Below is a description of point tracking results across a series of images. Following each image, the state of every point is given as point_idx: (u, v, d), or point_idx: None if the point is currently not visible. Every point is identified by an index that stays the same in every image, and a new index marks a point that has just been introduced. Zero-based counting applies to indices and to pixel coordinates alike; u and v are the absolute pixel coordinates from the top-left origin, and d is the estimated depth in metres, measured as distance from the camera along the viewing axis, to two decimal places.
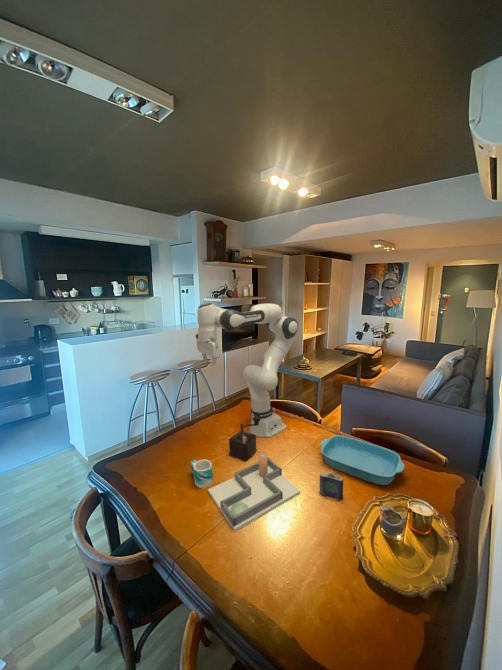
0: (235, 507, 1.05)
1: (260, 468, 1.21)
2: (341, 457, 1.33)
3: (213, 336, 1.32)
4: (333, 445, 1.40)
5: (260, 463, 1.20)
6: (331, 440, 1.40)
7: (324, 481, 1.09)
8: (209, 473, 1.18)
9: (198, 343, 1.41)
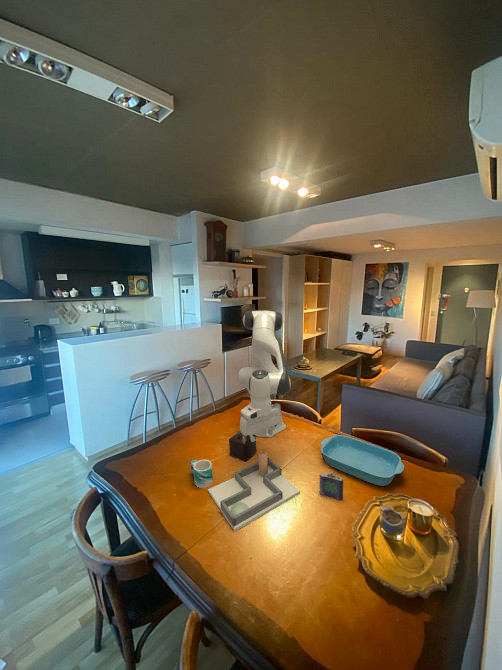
0: (235, 507, 1.05)
1: (260, 468, 1.21)
2: (341, 457, 1.34)
3: None
4: (334, 445, 1.41)
5: (260, 463, 1.20)
6: (332, 440, 1.40)
7: (324, 481, 1.09)
8: (209, 473, 1.18)
9: (248, 425, 1.12)
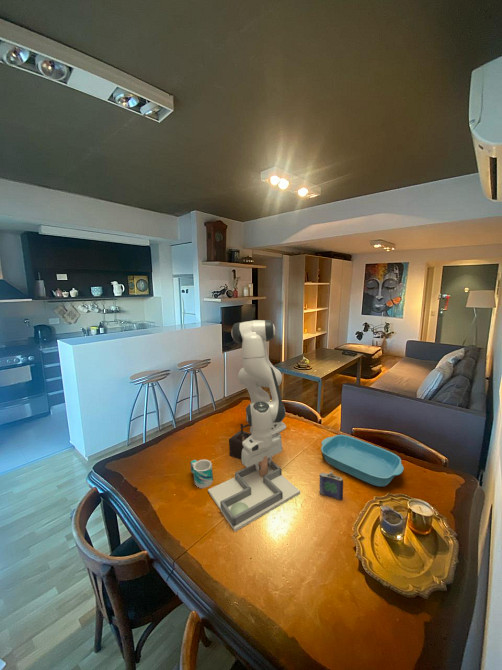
0: (235, 507, 1.05)
1: None
2: (342, 456, 1.34)
3: None
4: (336, 445, 1.41)
5: (260, 463, 1.20)
6: (334, 439, 1.41)
7: (324, 481, 1.09)
8: (209, 473, 1.18)
9: (250, 457, 1.15)
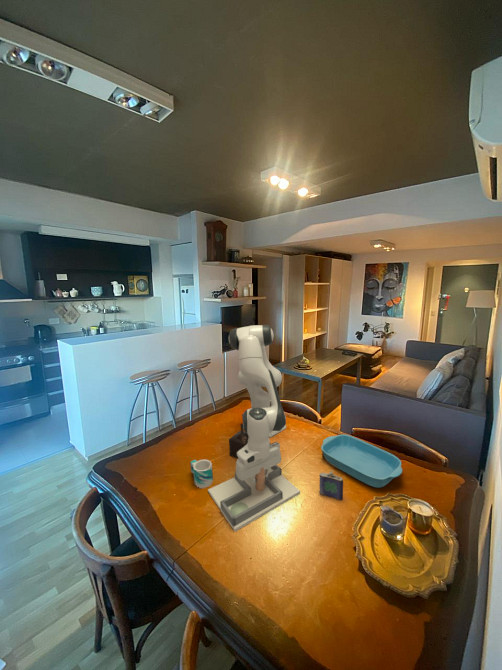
0: (235, 507, 1.05)
1: None
2: (343, 456, 1.34)
3: None
4: (338, 444, 1.42)
5: (256, 475, 1.09)
6: (336, 438, 1.41)
7: (324, 481, 1.09)
8: (209, 473, 1.18)
9: (245, 469, 1.04)
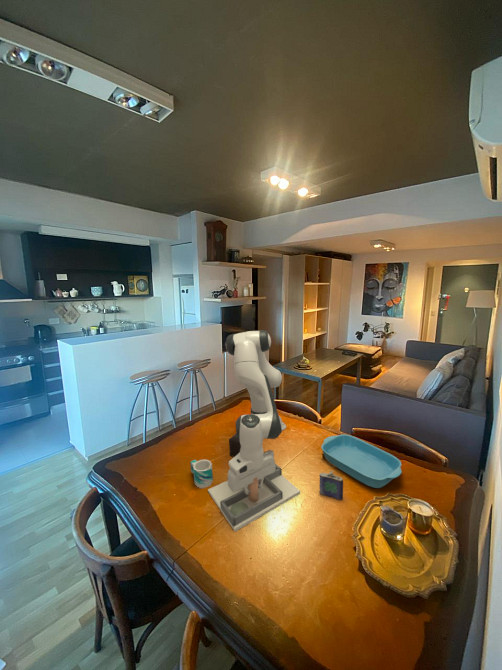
0: (235, 507, 1.05)
1: (250, 491, 1.04)
2: (343, 455, 1.35)
3: None
4: (339, 444, 1.42)
5: (249, 486, 1.04)
6: (337, 438, 1.41)
7: (324, 481, 1.09)
8: (209, 473, 1.18)
9: (237, 479, 0.98)
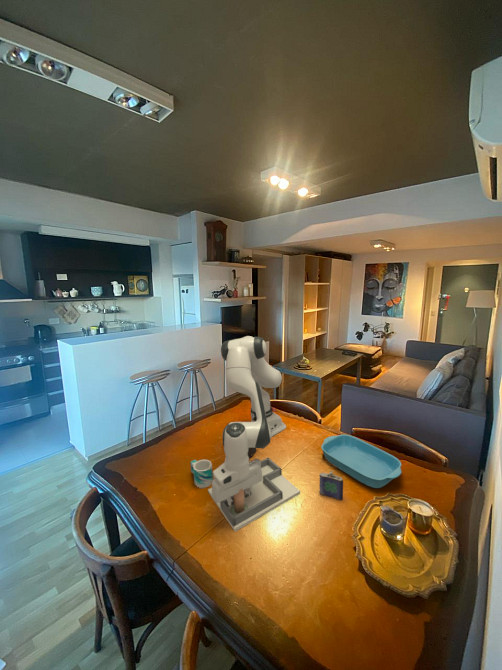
0: None
1: (235, 503, 1.01)
2: (343, 455, 1.35)
3: None
4: (339, 444, 1.42)
5: (235, 497, 1.01)
6: (337, 438, 1.41)
7: (324, 481, 1.09)
8: (209, 473, 1.18)
9: (221, 490, 0.95)
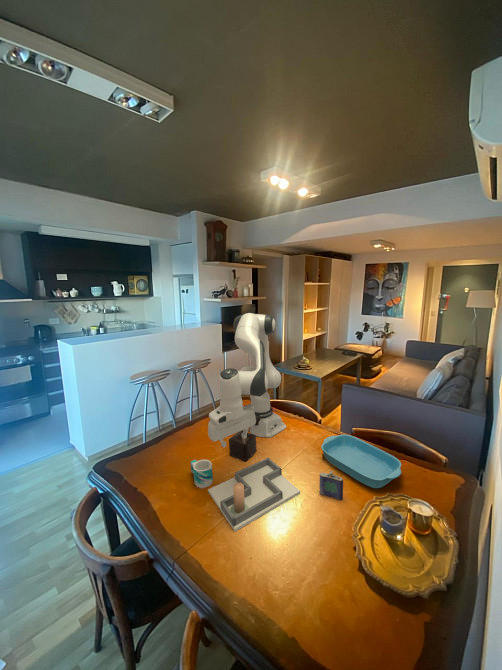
0: None
1: (235, 503, 1.01)
2: (343, 455, 1.34)
3: None
4: (340, 444, 1.42)
5: (235, 497, 1.01)
6: (338, 438, 1.41)
7: (324, 481, 1.09)
8: (209, 473, 1.18)
9: (217, 430, 1.01)
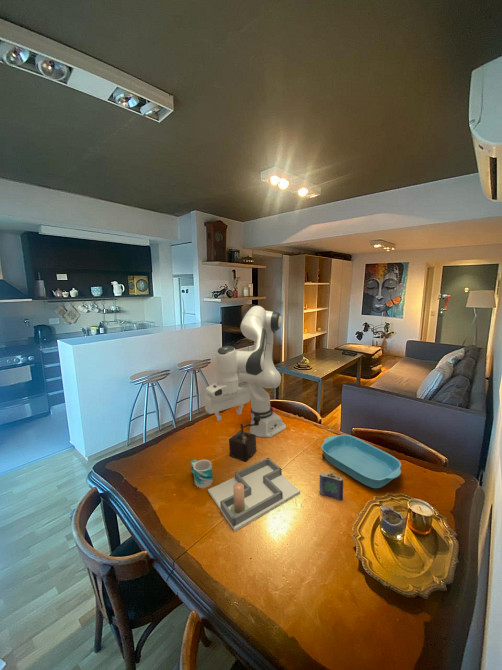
0: None
1: (235, 503, 1.01)
2: (343, 455, 1.34)
3: None
4: (340, 444, 1.42)
5: (235, 497, 1.01)
6: (338, 438, 1.41)
7: (324, 481, 1.09)
8: (209, 473, 1.18)
9: (213, 402, 1.07)
